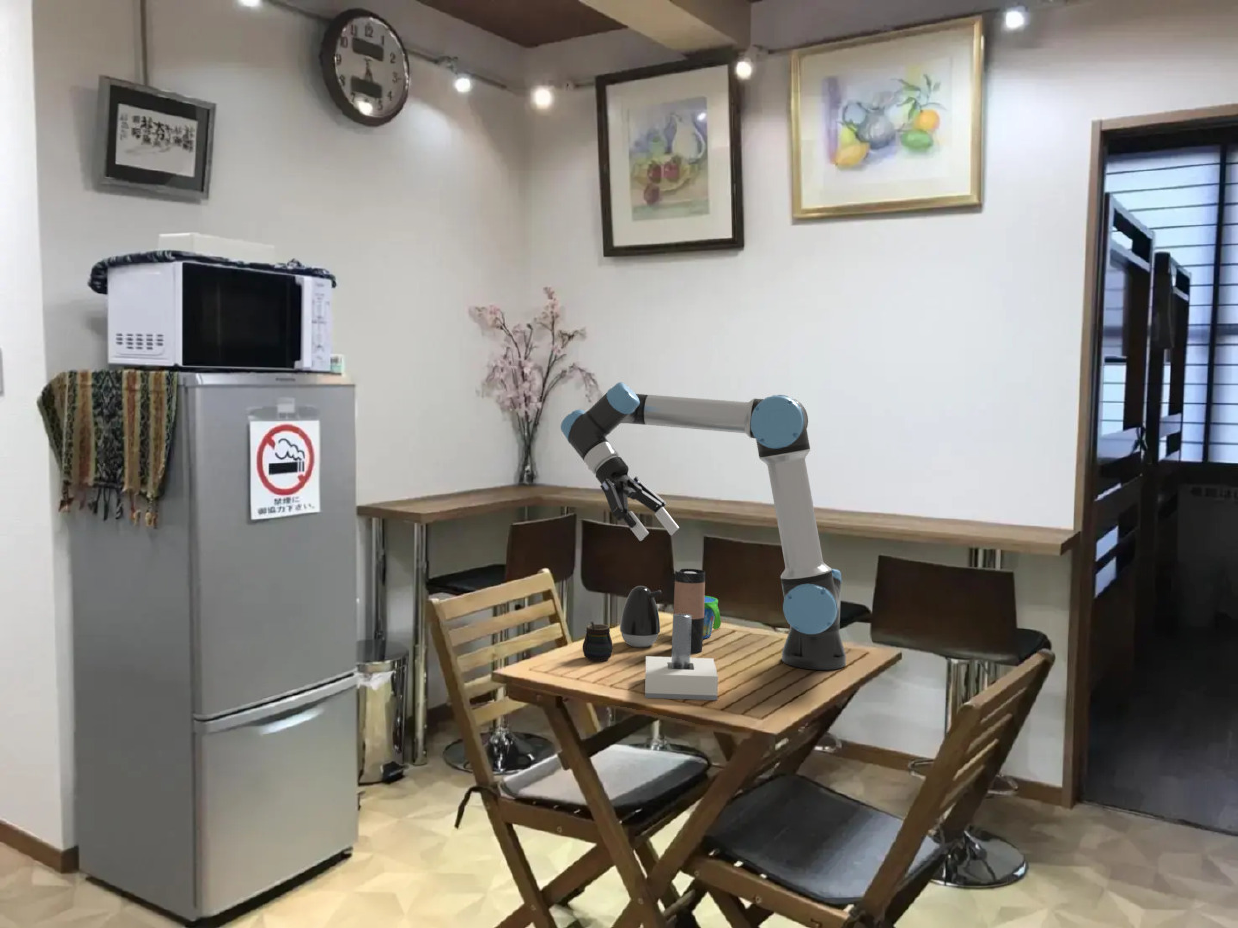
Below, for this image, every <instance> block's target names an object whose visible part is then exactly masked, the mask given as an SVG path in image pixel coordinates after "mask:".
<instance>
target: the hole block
mask: <svg viewBox="0 0 1238 928" xmlns="http://www.w3.org/2000/svg"><path fill="white" fill-rule="evenodd" d="M671 660H672V656H649V655H648V656H647V655H646V656H645V675H644V677H645V679H644V680H645V682H644V685H645V686H644V698H645V699H667V700H668V699H669V700H671V699H673V700H694V701H695V700H698V701H699V700H700V701H718V691H719V690H718V689H719V688H718V686H719V676H718V671H717V667H716V662H715V659H714V658H707V657H705V658H704V657H690V670H683V669H671Z"/></svg>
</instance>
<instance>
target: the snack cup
mask: <svg viewBox="0 0 1238 928" xmlns="http://www.w3.org/2000/svg"><path fill="white" fill-rule="evenodd" d="M718 604H719V599H718V598H716V597H714V596H709V595H705V602H704V628H703V640H704V639H707V638H709V637H711V635H712V631H713V630H717V629H718V630H719V628H720V627H721V624H722V620H721V614H720V609H719V607H718Z"/></svg>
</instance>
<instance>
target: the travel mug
mask: <svg viewBox="0 0 1238 928" xmlns="http://www.w3.org/2000/svg"><path fill="white" fill-rule="evenodd" d="M705 589H706V572H705V570H703V569H699V568H698V569H697V568H681V569H680V570H679V571H677V570H675V571H674V592H673V593H674V594H673V596H674V598H673V614H679V613H682V614H689V615H692V620H691V650H690V655H693V654H699V653H702V651H703V643H704V642H703V641H704V639H703V628H704V602H705V596H706V595H705V593H706V591H705Z"/></svg>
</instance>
